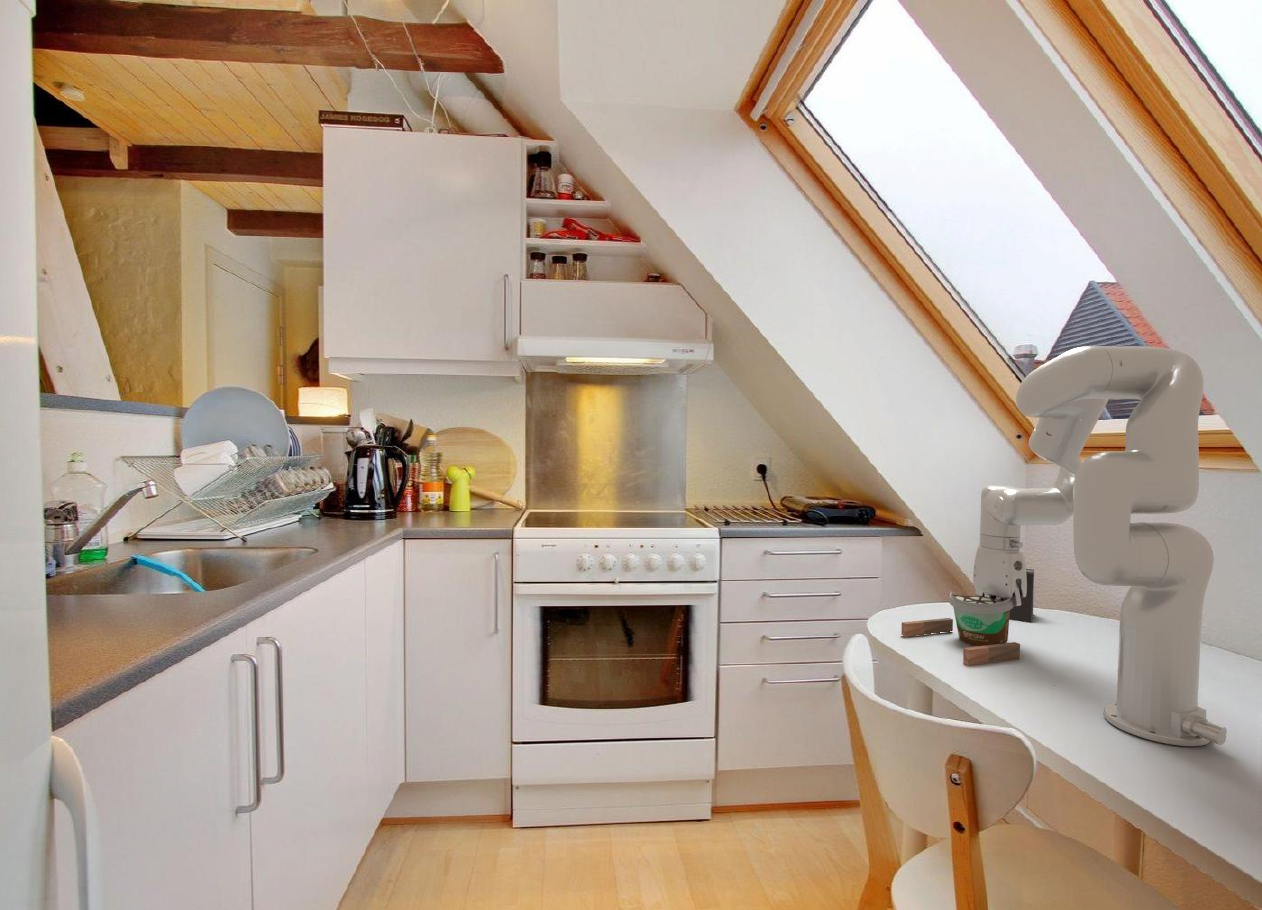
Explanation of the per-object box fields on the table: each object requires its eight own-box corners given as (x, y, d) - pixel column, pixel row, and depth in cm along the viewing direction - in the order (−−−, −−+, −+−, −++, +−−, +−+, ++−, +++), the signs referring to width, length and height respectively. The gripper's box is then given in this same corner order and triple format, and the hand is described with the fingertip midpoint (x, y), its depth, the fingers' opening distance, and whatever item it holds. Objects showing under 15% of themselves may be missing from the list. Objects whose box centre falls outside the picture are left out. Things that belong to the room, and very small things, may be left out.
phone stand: (1005, 610, 161) (1007, 563, 161) (1033, 614, 158) (1035, 566, 157) (1002, 618, 154) (1003, 569, 153) (1031, 622, 150) (1032, 573, 150)
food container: (945, 644, 136) (942, 600, 134) (951, 632, 140) (948, 590, 139) (1012, 654, 128) (1009, 608, 127) (1015, 641, 133) (1013, 596, 131)
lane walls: (1019, 658, 126) (1020, 643, 126) (968, 665, 122) (968, 649, 122) (948, 630, 144) (948, 617, 143) (901, 635, 140) (901, 622, 140)
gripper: (1044, 548, 129) (1041, 636, 130) (984, 536, 144) (982, 615, 144) (1015, 550, 127) (1012, 639, 128) (958, 537, 141) (955, 618, 142)
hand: (996, 626), depth 136 cm, fingers closed
